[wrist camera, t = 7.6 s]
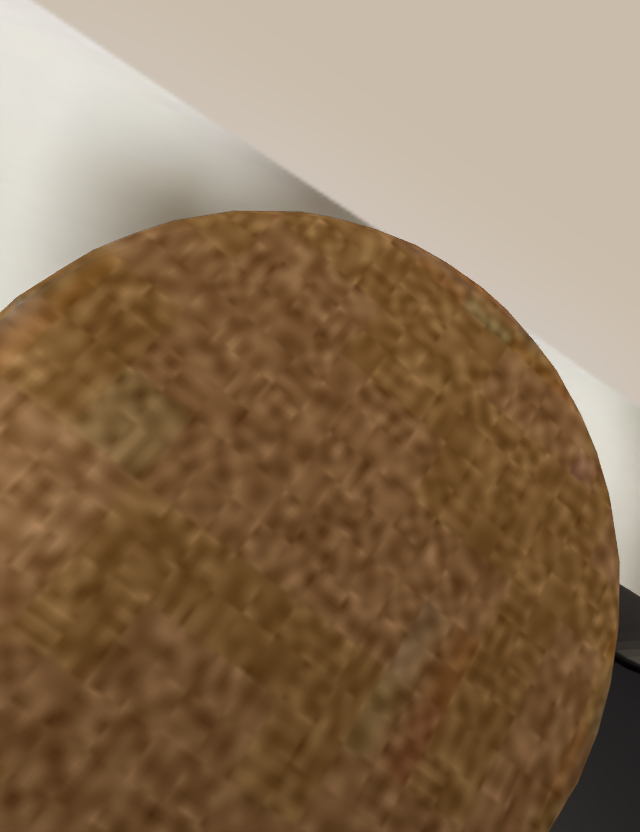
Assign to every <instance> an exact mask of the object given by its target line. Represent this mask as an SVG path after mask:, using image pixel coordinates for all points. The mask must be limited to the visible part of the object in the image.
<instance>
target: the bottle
mask: <svg viewBox="0 0 640 832" xmlns="http://www.w3.org/2000/svg"><path fill="white" fill-rule="evenodd" d="M619 563H620V561H619V555H618V548H617V542H616V535H615V529H614V522H613V516H612V509H611V503H610V497H609V493H608V489H607V486H606V483H605V479H604V476H603V472H602V469H601V465H600V462H599V458H598V455H597V452H596V449H595V447H594V445H593V442H592V440H591V437H590V435H589V433H588V430H587V428H586V425H585V423H584V421H583V418H582V416H581V414H580V412H579V410H578V408H577V407H576V405H575V403H574V401H573V399H572V398H571V396H570V394H569V392H568V390H567V389H566V387H565V385H564V383H563V381H562V380H561V378H560V376H559V374H558V372H557V370H556V369H555V368H554V366H553V365H552V364H551V363H550V361H549V360H548V359H547V357H546V356H545V355H544V353H543V352H542V351H541V349H540V348H539V347H538V345H537V344H536V343H535V342H534V340H533V339H532V338H531V337H530V336H529V335H528V334H527V332H526V331H525V330H524V329H523V328H522V327H521V326H520V324H519V323H518V322H517V321H516V320H515V319H514V317H513V316H512V315H511V314H510V313H509V312H508V311H507V310H506V309H505V308H504V307H503V306H502V305H501V304H500V303H499V302H498V301H496V300H495V299H494V298H493V297H492V296H491V295H490V294H489V293H488V292H486V291H485V290H484V289H483V288H482V287H481V286H479V285H478V284H476V283H475V282H474V281H472V280H471V279H469V278H468V277H466V276H465V275H464V274H462V273H461V272H459V271H458V270H456V269H455V268H454V267H452V266H451V265H449V264H448V263H446V262H444V261H443V260H441V259H439V258H438V257H436V256H434V255H432V254H430V253H429V252H427V251H425V250H423V249H422V248H420V247H418V246H416V245H414V244H412V243H409V242H407V241H404V240H402V239H399V238H397V237H394V236H392V235H389V234H387V233H384V232H381V231H379V230H376V229H373V228H369V227H366V226H362V225H359V224H355V223H352V222H348V221H344V220H340V219H336V218H332V217H327V216H322V215H316V214H310V213H304V212H287V211H230V212H224V213H217V214H211V215H205V216H199V217H193V218H187V219H181V220H175V221H171V222H168V223H165V224H162V225H159V226H156V227H153V228H150V229H147V230H144V231H141V232H138V233H135V234H132V235H129V236H127V237H124V238H122V239H119V240H117V241H114V242H112V243H109V244H107V245H104V246H102V247H99V248H97V249H94V250H92V251H91V252H89V253H87V254H86V255H84V256H82V257H81V258H79V259H77V260H76V261H74V262H72V263H71V264H69V265H67V266H65V267H64V268H62V269H60V270H59V271H57V272H56V273H54V274H53V275H51V276H49V277H48V278H46V279H45V280H43V281H42V282H40V283H38V284H37V285H35V286H34V287H32V288H31V289H29V290H27V291H26V292H24V293H23V294H21V295H20V296H18V297H16V298H15V299H14V300H13V301H12V302H11V303H10V304H9V305H8V306H7V307H6V308H5V309H4V310H2V311H1V312H0V832H549V831H550V829H551V827H552V826H553V824H554V822H555V821H556V819H557V817H558V815H559V814H560V812H561V810H562V809H563V807H564V805H565V803H566V802H567V800H568V798H569V797H570V795H571V793H572V791H573V790H574V788H575V786H576V785H577V783H578V781H579V778H580V776H581V773H582V771H583V768H584V766H585V763H586V761H587V758H588V756H589V753H590V751H591V748H592V746H593V743H594V741H595V738H596V736H597V733H598V730H599V726H600V723H601V719H602V715H603V711H604V707H605V703H606V699H607V696H608V692H609V688H610V684H611V677H612V670H613V663H614V656H615V649H616V642H617V635H618V628H619Z"/></svg>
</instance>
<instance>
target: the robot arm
mask: <svg viewBox="0 0 640 832" xmlns="http://www.w3.org/2000/svg"><path fill="white" fill-rule="evenodd" d="M549 832H640V596H638V595H636V594H635V593H633V592H632V591H630V590H628V589H627V588H625V587H624V586H622V585H620V584H619V628H618V635H617V642H616V649H615V656H614V663H613V670H612V677H611V684H610V688H609V692H608V696H607V699H606V703H605V707H604V711H603V715H602V719H601V723H600V726H599V730H598V733H597V736H596V738H595V741H594V743H593V746H592V748H591V751H590V753H589V756H588V758H587V761H586V763H585V766H584V768H583V771H582V773H581V776H580V778H579V781H578V783H577V785H576V786H575V788H574V790H573V791H572V793H571V795H570V797H569V798H568V800H567V802H566V803H565V805H564V807H563V809H562V810H561V812H560V814H559V815H558V817H557V819H556V821H555V822H554V824H553V826H552V827H551V829H550V831H549Z"/></svg>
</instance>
